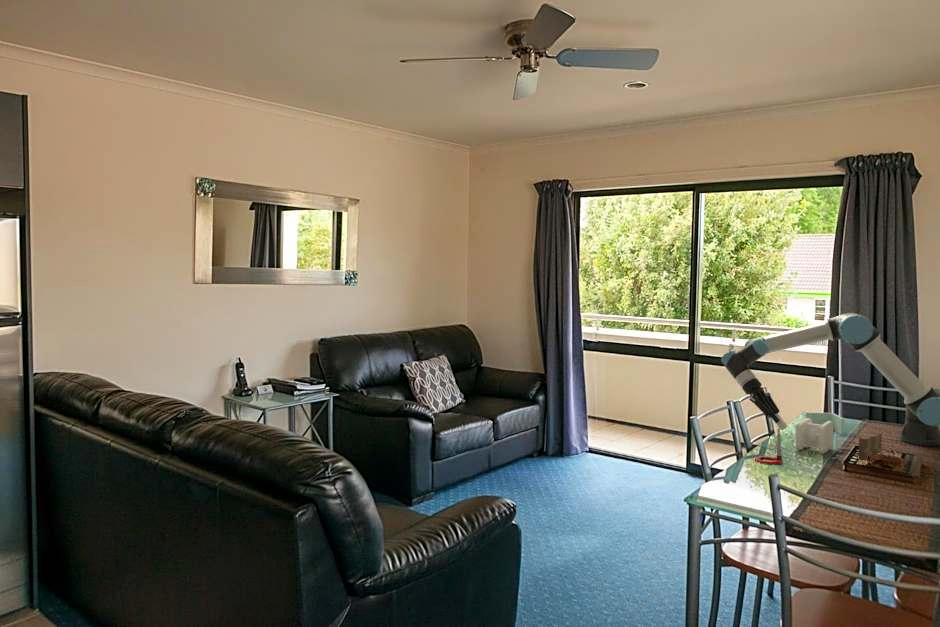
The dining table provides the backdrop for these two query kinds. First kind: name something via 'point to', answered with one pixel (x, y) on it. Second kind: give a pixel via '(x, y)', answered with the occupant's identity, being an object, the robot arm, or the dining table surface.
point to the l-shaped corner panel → (824, 417)
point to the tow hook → (778, 457)
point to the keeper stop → (869, 445)
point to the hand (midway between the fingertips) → (784, 428)
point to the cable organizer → (814, 435)
